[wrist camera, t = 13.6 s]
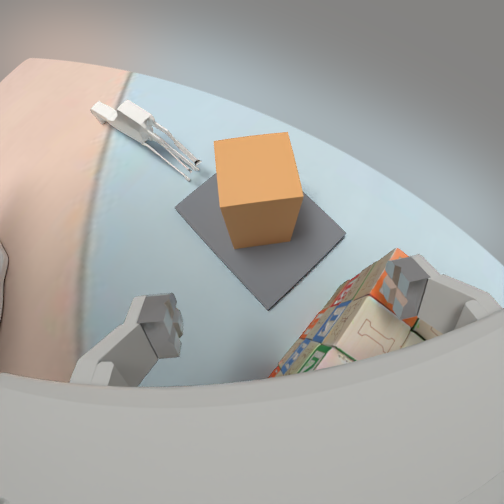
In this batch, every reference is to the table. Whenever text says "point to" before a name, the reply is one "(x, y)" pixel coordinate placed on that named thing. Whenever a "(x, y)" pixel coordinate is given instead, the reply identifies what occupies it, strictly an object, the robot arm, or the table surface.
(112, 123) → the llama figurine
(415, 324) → the stack of blocks
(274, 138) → the orange block
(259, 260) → the slate mat
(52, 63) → the table surface
